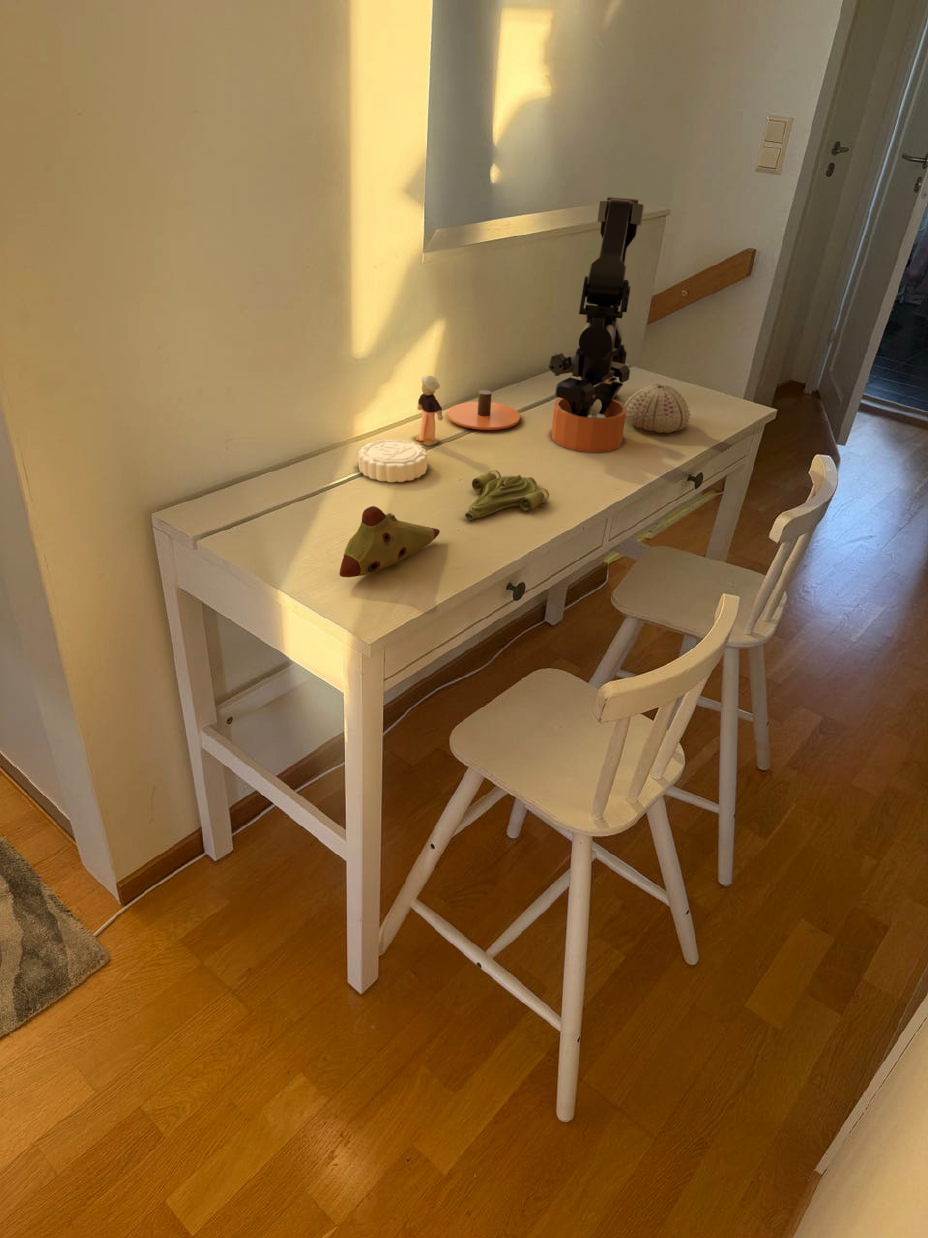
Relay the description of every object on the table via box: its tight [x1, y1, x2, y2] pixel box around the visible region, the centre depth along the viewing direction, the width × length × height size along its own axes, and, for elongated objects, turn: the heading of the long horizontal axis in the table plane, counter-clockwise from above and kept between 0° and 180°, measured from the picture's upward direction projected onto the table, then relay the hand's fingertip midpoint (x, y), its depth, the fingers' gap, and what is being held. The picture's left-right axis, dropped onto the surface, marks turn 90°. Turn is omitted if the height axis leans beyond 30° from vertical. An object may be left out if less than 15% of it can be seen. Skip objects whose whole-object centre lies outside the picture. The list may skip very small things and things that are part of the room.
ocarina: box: [338, 505, 441, 578], centre depth 127 cm, size 20×5×10 cm, turn 139°
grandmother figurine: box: [415, 374, 444, 446], centre depth 165 cm, size 8×4×13 cm, turn 47°
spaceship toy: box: [464, 469, 550, 521], centre depth 147 cm, size 12×18×4 cm
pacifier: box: [588, 399, 606, 418], centre depth 171 cm, size 7×6×6 cm
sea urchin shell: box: [623, 383, 691, 434], centre depth 179 cm, size 13×14×8 cm
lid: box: [447, 389, 521, 431], centre depth 178 cm, size 15×15×6 cm
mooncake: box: [358, 439, 428, 483], centre depth 156 cm, size 12×12×4 cm
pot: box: [550, 395, 627, 453], centre depth 172 cm, size 14×14×6 cm
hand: (588, 424), depth 172 cm, fingers closed on pacifier, 7 cm apart
